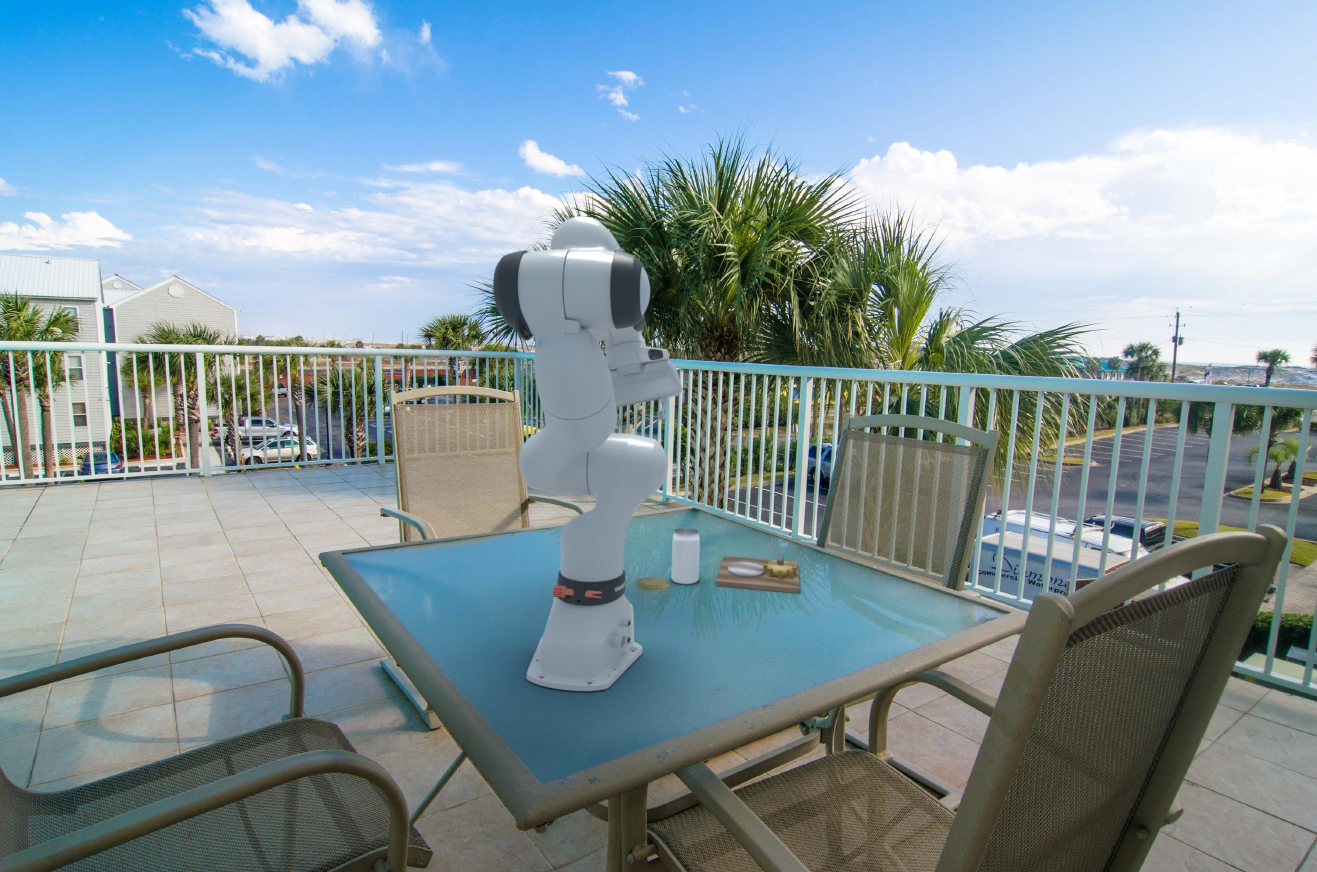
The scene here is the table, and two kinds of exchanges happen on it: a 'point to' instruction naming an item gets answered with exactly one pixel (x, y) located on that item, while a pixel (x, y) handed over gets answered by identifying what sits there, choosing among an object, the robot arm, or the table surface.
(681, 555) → the can
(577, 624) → the robot arm
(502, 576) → the table surface
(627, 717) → the table surface
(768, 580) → the board
